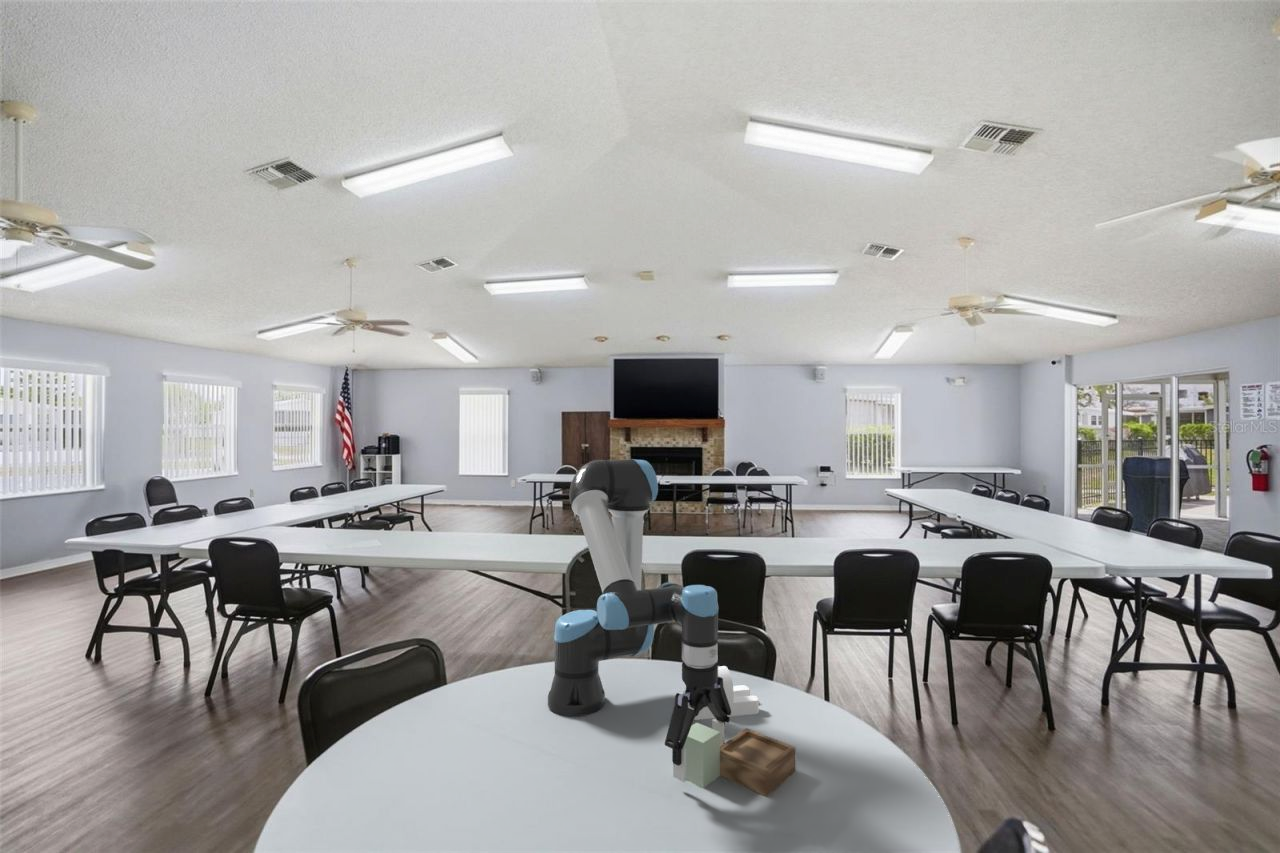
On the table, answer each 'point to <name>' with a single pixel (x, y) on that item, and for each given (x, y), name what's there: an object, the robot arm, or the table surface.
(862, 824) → the table surface
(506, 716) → the table surface
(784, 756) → the brown crate
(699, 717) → the white slotted block
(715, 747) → the green block
